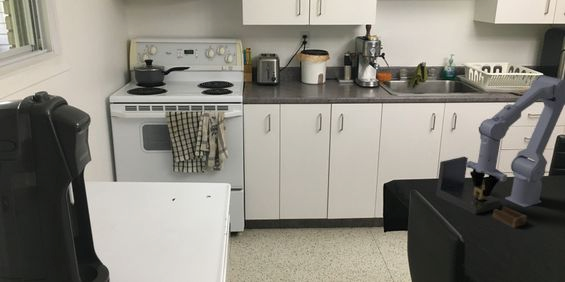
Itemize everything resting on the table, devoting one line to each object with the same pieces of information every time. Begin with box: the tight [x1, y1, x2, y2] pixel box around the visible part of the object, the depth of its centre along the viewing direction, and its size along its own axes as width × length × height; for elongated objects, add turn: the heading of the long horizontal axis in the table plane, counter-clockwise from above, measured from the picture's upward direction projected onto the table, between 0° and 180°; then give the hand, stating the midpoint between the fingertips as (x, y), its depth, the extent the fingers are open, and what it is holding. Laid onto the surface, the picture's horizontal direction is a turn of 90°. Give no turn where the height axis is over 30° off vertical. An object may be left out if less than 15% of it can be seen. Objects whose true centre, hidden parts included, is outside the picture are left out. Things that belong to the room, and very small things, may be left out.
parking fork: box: [491, 206, 527, 229], centre depth 155 cm, size 5×8×3 cm
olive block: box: [473, 183, 490, 202], centre depth 163 cm, size 4×3×6 cm
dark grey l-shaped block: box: [435, 156, 501, 215], centre depth 167 cm, size 12×17×13 cm
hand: (482, 193), depth 163 cm, fingers closed on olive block, 3 cm apart
